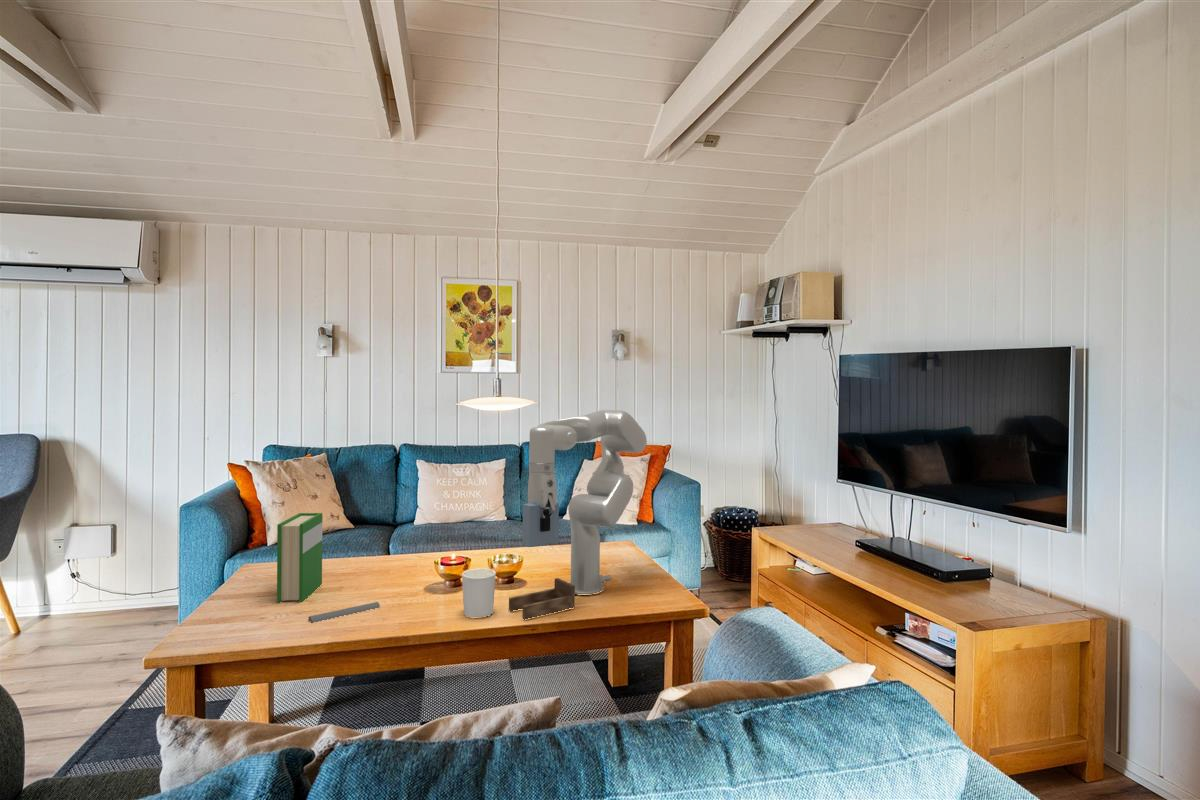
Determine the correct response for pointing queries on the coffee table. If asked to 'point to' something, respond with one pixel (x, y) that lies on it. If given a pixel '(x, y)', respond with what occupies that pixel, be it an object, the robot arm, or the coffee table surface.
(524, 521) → the slate-blue book
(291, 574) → the hardback book
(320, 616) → the gray half cylinder
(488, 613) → the grey cylinder
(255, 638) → the coffee table surface
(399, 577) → the coffee table surface
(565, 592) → the book rack
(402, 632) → the coffee table surface
